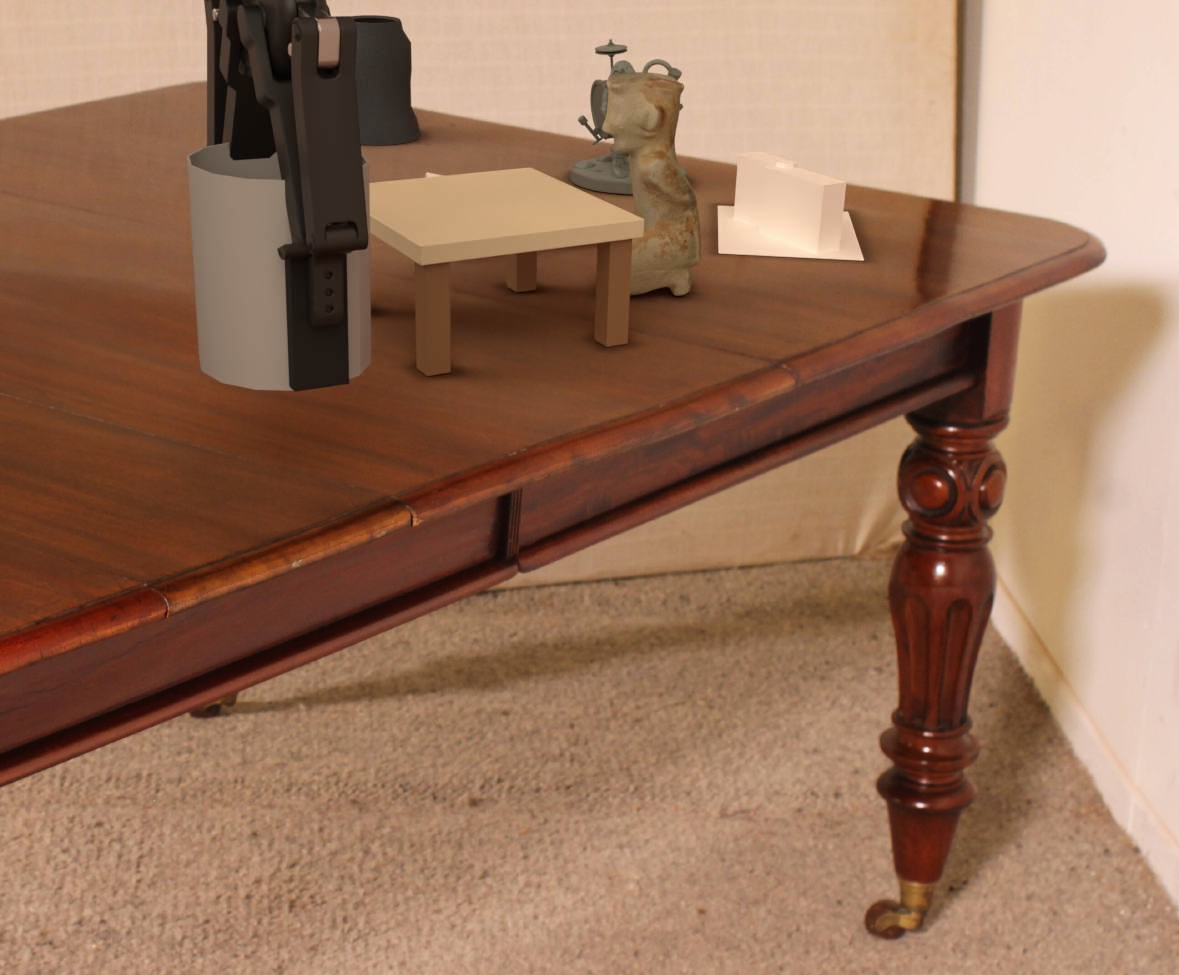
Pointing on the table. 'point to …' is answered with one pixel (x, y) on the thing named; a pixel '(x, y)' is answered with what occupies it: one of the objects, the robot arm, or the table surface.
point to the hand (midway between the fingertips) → (287, 354)
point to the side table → (500, 242)
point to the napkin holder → (786, 212)
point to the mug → (384, 81)
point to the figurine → (609, 169)
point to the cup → (255, 271)
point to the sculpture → (655, 180)
